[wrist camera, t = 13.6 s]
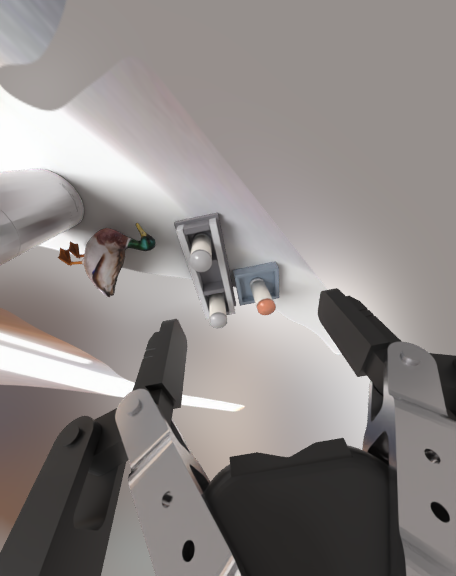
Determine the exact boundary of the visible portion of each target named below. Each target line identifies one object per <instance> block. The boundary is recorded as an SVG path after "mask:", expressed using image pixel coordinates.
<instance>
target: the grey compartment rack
mask: <svg viewBox="0 0 456 576" xmlns="http://www.w3.org/2000/svg"><path fill="white" fill-rule="evenodd" d="M174 225H175V228H176V233H177V236H178V239H179V242H180V245H181V248H182V251H183V254H184V256H185V259H186V262H187V265H188V268H189V271H190V274H191V277H192V280H193V282H194V285H195V288H196V291H197V294H198V297H199V300H200V303H201V306H202V308H203V311H204V314H205V317H206V319H209V318H210V317H209V295H211V294H216V293H221V292H223V293H224V299H225V307H226V315H229V314H235V309H234V306H236V301H235V297H234V292H233V286H232V281H231V276H230V271H229V266H228V262H227V257H226V252H225V247H224V242H223V237H222V232H221V227H220V222H219V217H218V213H214V214H209V215H204V216H199V217H195V218H190V219H185V220H180V221H176V222H175V223H174ZM198 233H205V234H207V235H208V236H209V237H210V239H211V252H212V265H211V267H210V269H208V270H207V271H205V272H197V271H195V270H194V269H192V268H191V266H190V263H189V261H190V255H191V249H192V243H193V238H194V236H195V235H196V234H198Z"/></svg>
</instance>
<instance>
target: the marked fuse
mask: <svg viewBox="0 0 456 576" xmlns="http://www.w3.org/2000/svg"><path fill="white" fill-rule="evenodd" d="M249 285H250V288H251V291H252V294H253V297H254V300H255V303H256V306H257V309H258V312H259V313H260V314H262V315H269V314H271V313H273V312H274V310H275V308H276V306H275V303H274V301H273V299H272V297H271V295H270V293H269V291H268V288H267V286H266V284H265V282H264V280H263V279H262V278H260V277H256V278H254V279H252V280H251V281H250V284H249Z"/></svg>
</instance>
